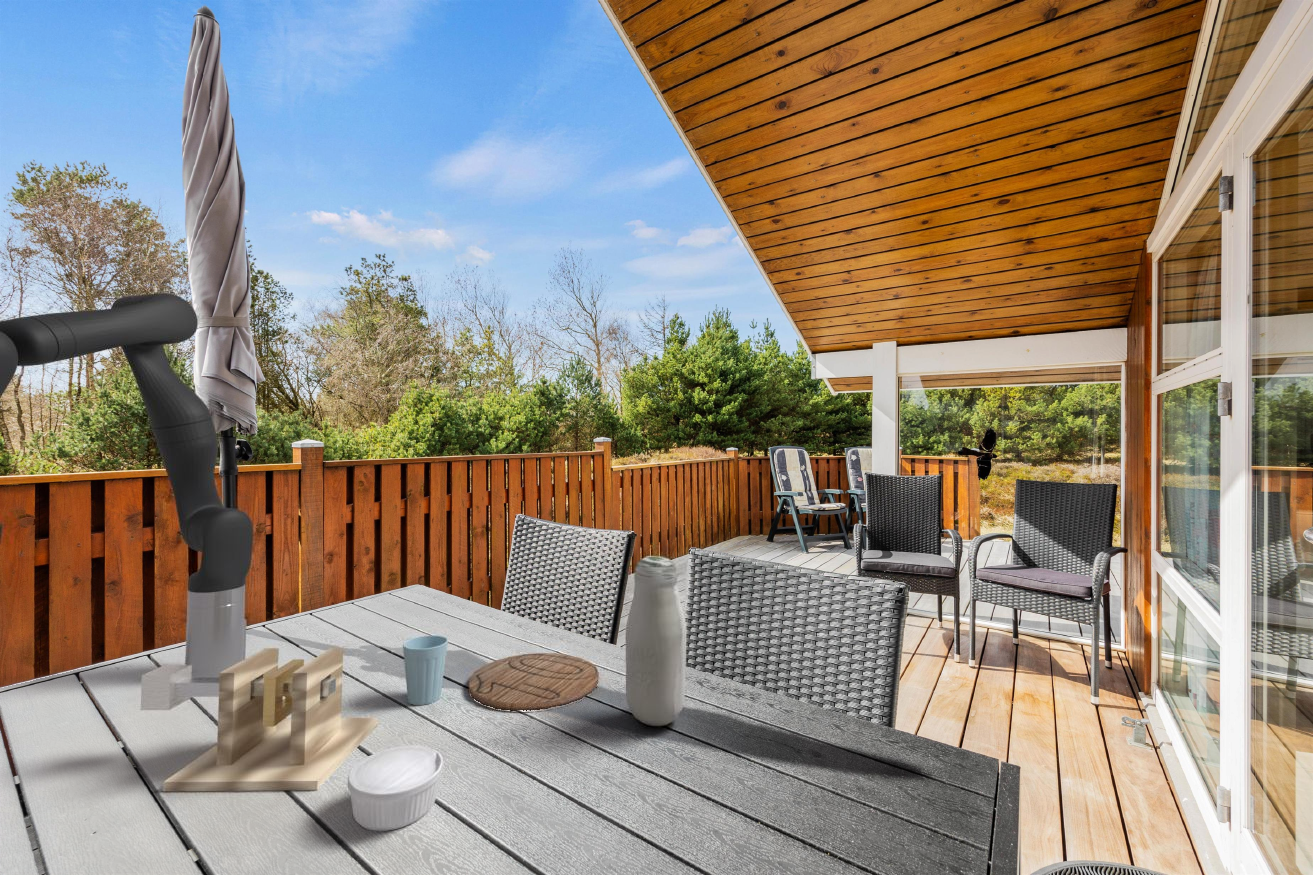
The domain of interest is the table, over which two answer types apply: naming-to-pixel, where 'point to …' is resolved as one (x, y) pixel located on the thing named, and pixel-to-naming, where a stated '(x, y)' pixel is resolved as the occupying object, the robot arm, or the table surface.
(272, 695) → the spacer ring
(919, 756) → the table surface
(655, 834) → the table surface
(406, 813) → the ramekin
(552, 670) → the trivet
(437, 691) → the cup
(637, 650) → the glass bottle
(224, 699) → the bracket
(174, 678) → the shaft
